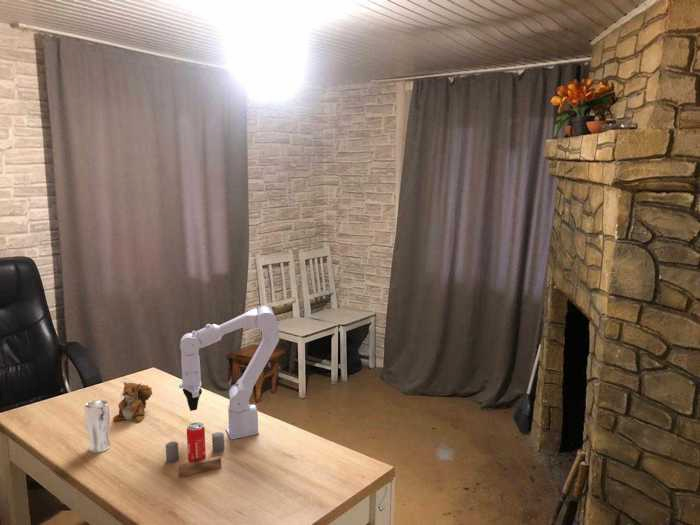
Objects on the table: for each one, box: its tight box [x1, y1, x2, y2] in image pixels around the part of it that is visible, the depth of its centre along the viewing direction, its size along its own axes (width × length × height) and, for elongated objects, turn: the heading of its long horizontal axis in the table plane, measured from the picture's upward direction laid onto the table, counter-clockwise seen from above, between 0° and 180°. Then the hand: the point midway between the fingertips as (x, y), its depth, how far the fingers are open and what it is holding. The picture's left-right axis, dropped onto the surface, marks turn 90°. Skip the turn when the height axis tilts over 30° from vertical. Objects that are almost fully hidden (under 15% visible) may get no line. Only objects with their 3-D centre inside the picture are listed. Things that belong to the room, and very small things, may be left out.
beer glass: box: [84, 399, 111, 454], centre depth 172 cm, size 7×7×15 cm
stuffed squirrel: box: [112, 381, 154, 423], centre depth 195 cm, size 10×14×13 cm
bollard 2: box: [211, 431, 225, 453], centre depth 172 cm, size 4×4×5 cm
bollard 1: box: [165, 441, 180, 464], centre depth 166 cm, size 4×4×5 cm
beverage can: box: [186, 422, 207, 463], centre depth 164 cm, size 5×5×12 cm
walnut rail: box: [177, 455, 222, 478], centre depth 160 cm, size 12×2×3 cm, turn 116°
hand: (193, 409), depth 178 cm, fingers closed
